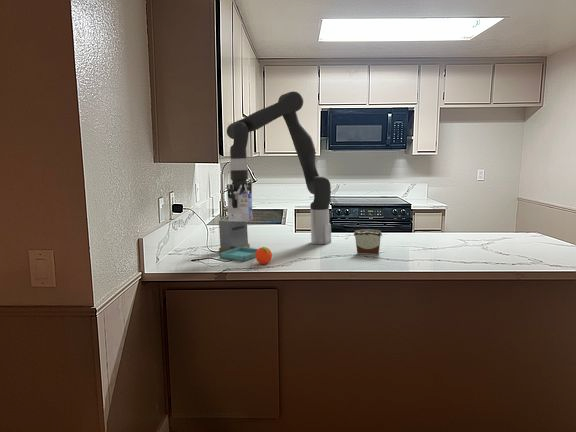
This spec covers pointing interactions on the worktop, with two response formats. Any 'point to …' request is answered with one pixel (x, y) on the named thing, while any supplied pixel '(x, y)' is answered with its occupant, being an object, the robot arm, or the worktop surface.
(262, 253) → the clementine
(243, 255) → the tray
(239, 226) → the printer unit
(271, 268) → the worktop surface
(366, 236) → the food container
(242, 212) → the ink cartridge box
